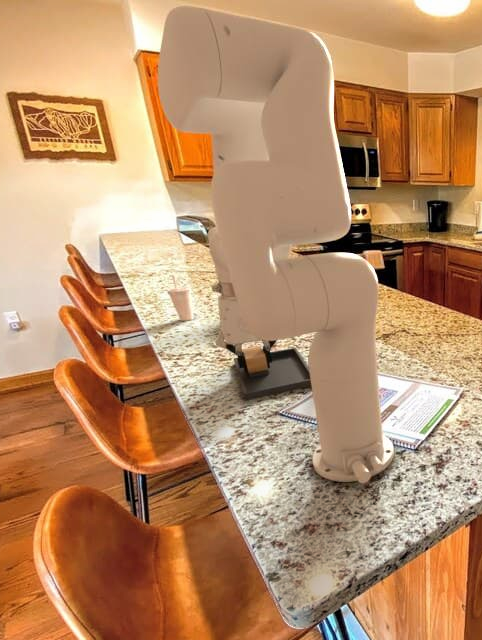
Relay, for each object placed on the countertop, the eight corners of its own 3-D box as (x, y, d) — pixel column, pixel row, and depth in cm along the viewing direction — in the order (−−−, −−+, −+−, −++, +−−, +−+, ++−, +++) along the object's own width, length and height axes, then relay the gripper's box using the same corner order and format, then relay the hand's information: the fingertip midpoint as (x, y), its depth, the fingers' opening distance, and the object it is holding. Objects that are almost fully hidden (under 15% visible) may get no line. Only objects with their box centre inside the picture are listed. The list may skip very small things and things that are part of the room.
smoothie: (178, 317, 138) (166, 273, 132) (200, 315, 139) (189, 272, 134) (172, 322, 132) (160, 277, 126) (196, 321, 134) (184, 276, 128)
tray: (317, 387, 91) (316, 378, 90) (245, 403, 84) (243, 394, 83) (297, 355, 108) (295, 347, 107) (235, 366, 101) (233, 358, 100)
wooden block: (269, 374, 96) (265, 355, 94) (249, 378, 94) (245, 359, 92) (264, 363, 101) (260, 345, 99) (246, 366, 99) (242, 348, 97)
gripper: (195, 297, 83) (216, 382, 90) (285, 287, 90) (298, 366, 98) (194, 289, 89) (215, 369, 96) (278, 280, 96) (291, 355, 104)
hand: (256, 367), depth 97 cm, fingers closed on wooden block, 4 cm apart
